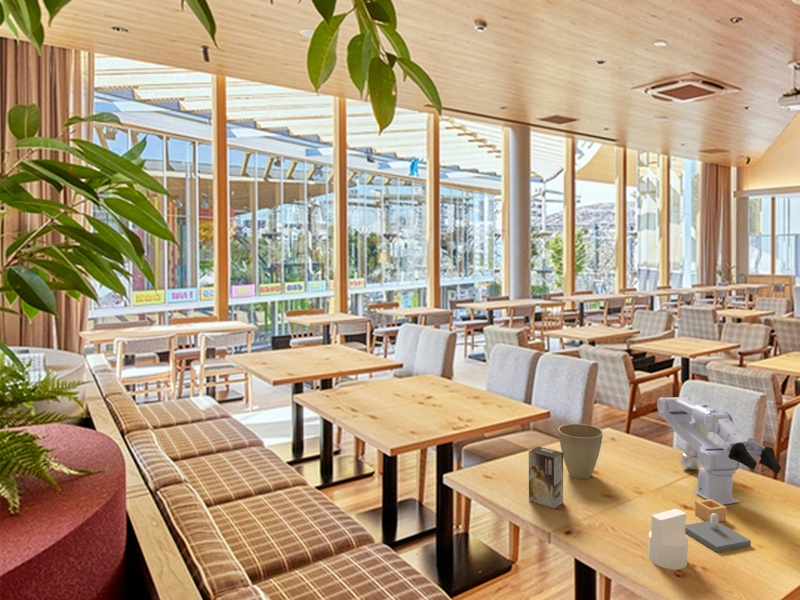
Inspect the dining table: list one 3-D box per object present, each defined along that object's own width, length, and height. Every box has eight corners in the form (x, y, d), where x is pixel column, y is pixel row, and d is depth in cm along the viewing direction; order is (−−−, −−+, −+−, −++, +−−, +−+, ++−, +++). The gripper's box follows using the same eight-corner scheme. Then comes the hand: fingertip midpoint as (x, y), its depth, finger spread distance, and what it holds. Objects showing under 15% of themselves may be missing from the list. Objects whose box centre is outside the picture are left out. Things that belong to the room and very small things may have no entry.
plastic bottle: (676, 463, 207) (688, 409, 206) (695, 467, 206) (708, 413, 205) (682, 469, 201) (695, 413, 199) (702, 473, 200) (715, 418, 198)
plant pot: (556, 465, 209) (556, 422, 208) (599, 468, 206) (599, 424, 205) (558, 481, 195) (559, 436, 193) (605, 485, 192) (606, 438, 190)
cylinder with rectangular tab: (669, 573, 140) (670, 525, 139) (640, 555, 148) (641, 510, 147) (695, 564, 144) (697, 518, 143) (665, 547, 152) (667, 503, 151)
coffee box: (564, 502, 179) (564, 452, 178) (554, 509, 175) (554, 458, 173) (537, 494, 185) (538, 445, 184) (527, 500, 181) (527, 451, 179)
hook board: (682, 530, 160) (682, 510, 160) (714, 524, 163) (714, 505, 163) (716, 552, 149) (717, 531, 148) (750, 545, 152) (751, 524, 151)
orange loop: (694, 514, 170) (695, 501, 170) (710, 511, 171) (710, 499, 171) (710, 523, 165) (710, 509, 164) (725, 520, 166) (726, 507, 166)
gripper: (720, 424, 168) (749, 452, 156) (763, 431, 171) (796, 460, 158) (710, 444, 171) (738, 473, 158) (753, 451, 173) (784, 480, 160)
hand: (766, 468), depth 158 cm, fingers open, 7 cm apart
